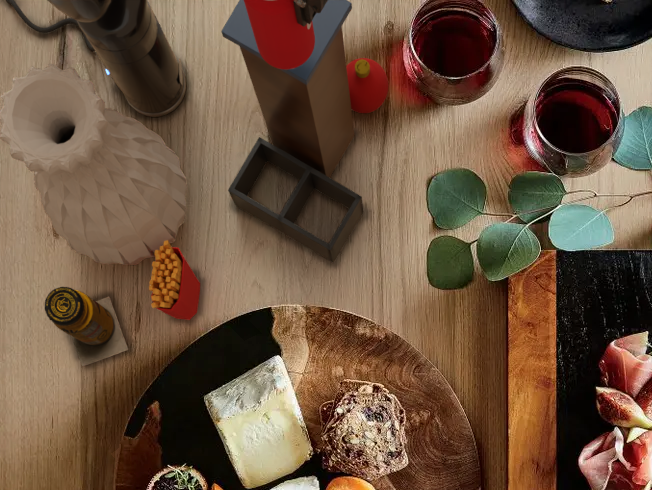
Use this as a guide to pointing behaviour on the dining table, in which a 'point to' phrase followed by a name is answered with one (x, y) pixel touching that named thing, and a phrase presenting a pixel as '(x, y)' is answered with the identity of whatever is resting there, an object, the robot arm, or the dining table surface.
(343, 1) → the gray square slab
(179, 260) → the french fries
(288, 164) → the rack
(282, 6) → the beverage can
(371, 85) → the christmas ornament
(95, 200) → the vase
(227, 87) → the dining table surface
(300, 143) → the post
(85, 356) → the condiment
